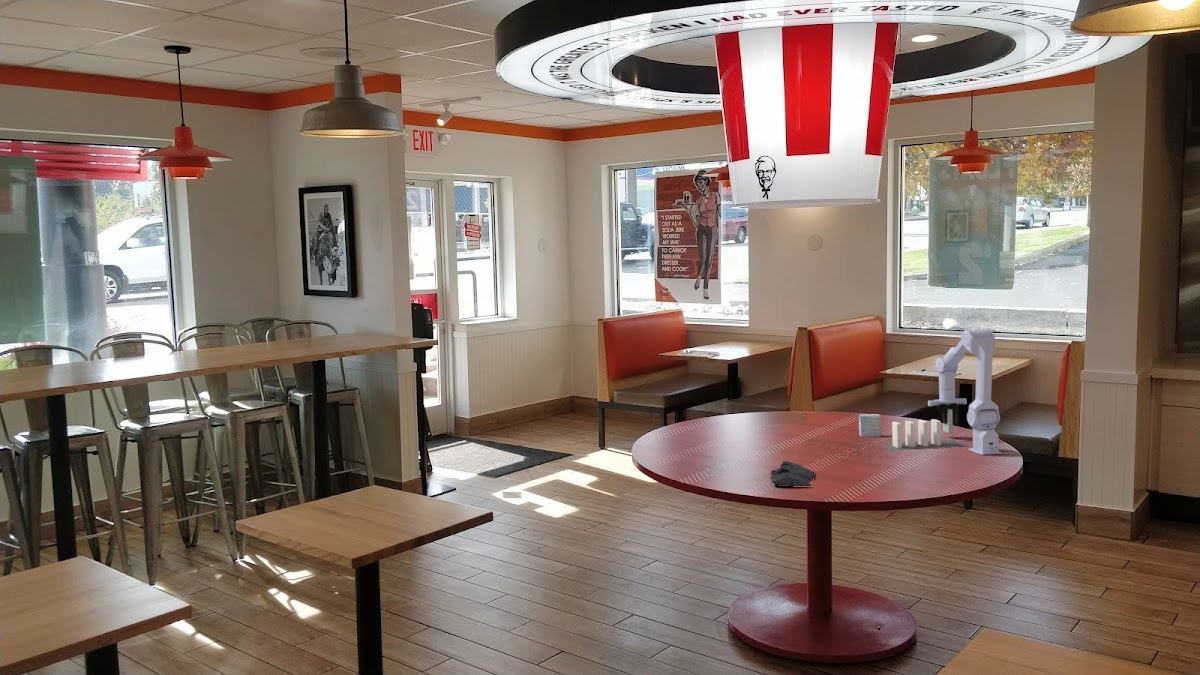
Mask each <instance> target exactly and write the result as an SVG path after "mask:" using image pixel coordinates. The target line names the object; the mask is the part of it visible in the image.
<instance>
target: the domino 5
mask: <svg viewBox="0 0 1200 675" xmlns="http://www.w3.org/2000/svg"><path fill="white" fill-rule="evenodd" d="M953 422H954V420H953V421H952V409H949V408H948V411H947V424H944V423H943V422H942V431H943V432H945V433H947V434H953V433H954V427H953Z"/></svg>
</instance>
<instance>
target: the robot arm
mask: <svg viewBox="0 0 1200 675" xmlns="http://www.w3.org/2000/svg"><path fill="white" fill-rule="evenodd" d="M995 344H996V336H995V334H994V333H993V331H992V330H991V329H990V328H984V329H965V330H963V331H962V333H960V341H958V343H957V345H956V346H953V347H950V348H949V350H948V351H947V352H946V353H945V355H943V357H937V359H936V360H935V369H936V372H937V373H938V393H939V394H938V396H939V399H933V400H932V399H931V400H930V399H929V400H927V406H928V407H934V406H936V408H937V410H938V411H939V413H940V416H941V420H942V424H943V423H944V424H947V411H948V408H949V409H952V421H953V422H954V417H955V415H956V413H957V410H958V409H959V405H967V404H968V403H967V402H968V401H967V398H956V377H957V370H958V368H959V364H960V362H962V360H963V359H964V358H965V353H967V351H968V352H969V353H970V354H972V355H974V356H975V357H976V366H975V367H976V370H975V397H974V398H975V399H974V400H973V401H972V402H970V404H969V405H968V411H967V413H966V420H967V422H968V425H969V426H970V427H971V428H972V447H971V448H970V447H969V448H968V451H972V452H974V453H976V454H980V456H985V454H986V455H999V454H1002V451H1000V437H999V434H998V432H997V431H995V430H996V429H995V428H997V425H998V424H999V422H1000V420H1001V416H1000V411H999V405H998V404H996V403H995V402H994V401H992V384H993V383H992V380H993V379H992V378H993V356H994V354H993V353H994V352H995V347H996V345H995Z"/></svg>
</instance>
